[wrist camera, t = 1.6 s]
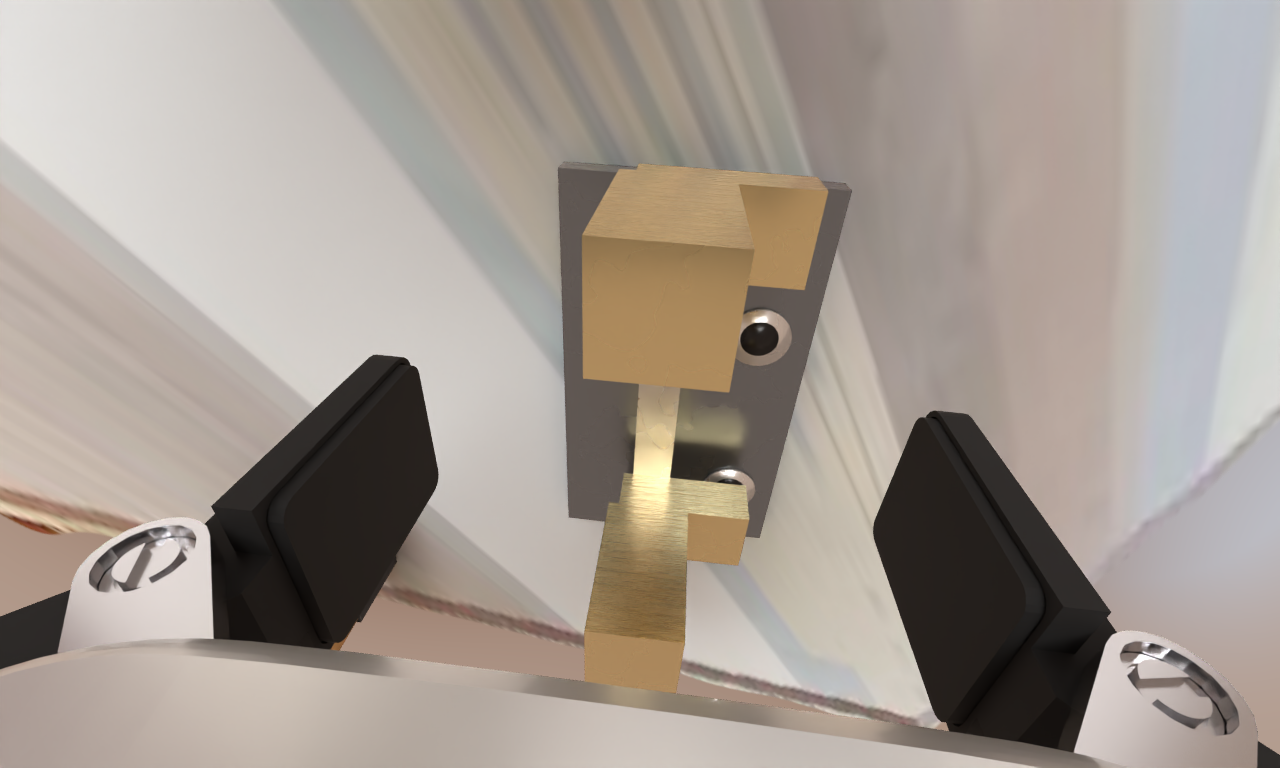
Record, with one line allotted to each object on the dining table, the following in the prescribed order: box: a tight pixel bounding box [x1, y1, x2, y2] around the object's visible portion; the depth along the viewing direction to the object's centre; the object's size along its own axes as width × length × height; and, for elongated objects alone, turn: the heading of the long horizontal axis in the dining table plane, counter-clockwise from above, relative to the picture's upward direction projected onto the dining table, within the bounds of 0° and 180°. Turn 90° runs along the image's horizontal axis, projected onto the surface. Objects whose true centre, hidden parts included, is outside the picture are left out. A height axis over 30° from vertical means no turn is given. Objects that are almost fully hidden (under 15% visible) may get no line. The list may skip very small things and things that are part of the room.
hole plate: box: [558, 162, 852, 693], centre depth 24 cm, size 21×12×12 cm, turn 177°
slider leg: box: [582, 164, 828, 392], centre depth 18 cm, size 4×7×10 cm, turn 87°
